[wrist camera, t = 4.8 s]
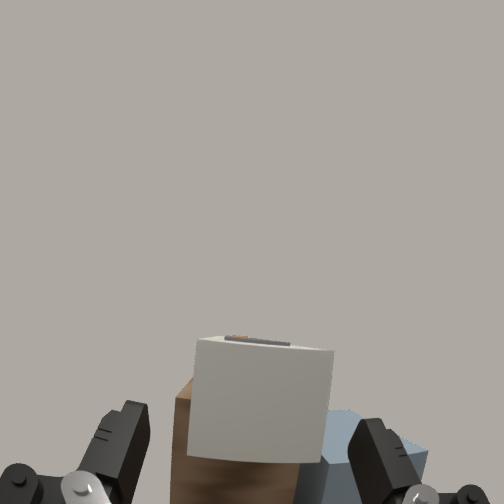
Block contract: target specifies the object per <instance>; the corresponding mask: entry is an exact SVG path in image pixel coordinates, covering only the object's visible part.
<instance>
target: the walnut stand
mask: <svg viewBox="0 0 504 504" xmlns="http://www.w3.org/2000/svg"><path fill="white" fill-rule="evenodd" d="M192 384H193V378H192V379H191V380H190V381H189V382H188V384H187V385H186V386H185V387H184V388H183V389H182V391H181V392H180V393H179V394H178V395H177V397H176V400H175V413H174V426H173V442H172V461H171V483H170V485H171V486H170V504H293V501H294V496H295V490H296V485H297V479H298V473H299V467H300V463H263V462H244V461H231V460H221V459H211V458H203V457H195V456H189V455H187V445H188V431H189V418H190V406H191V395H192Z"/></svg>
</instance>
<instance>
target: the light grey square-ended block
mask: <svg viewBox="0 0 504 504" xmlns="http://www.w3.org/2000/svg"><path fill="white" fill-rule="evenodd" d="M333 360H334V351H332V350H324V349H315V348H308V347H301V346H294V345H290V343H287V342H278V341H270V340H262V339H255V338H248V337H245V336H235V335H233V336H225V337H224V336H216V337H208V338H201V339H197V345H196V355H195V364H194V374H193V384H192V395H191V406H190V418H189V431H188V445H187V455H189V456H195V457H203V458H211V459H221V460H231V461H244V462H263V463H318V462H320V459H321V453H322V447H323V440H324V434H325V427H326V420H327V413H328V405H329V397H330V388H331V379H332V370H333Z"/></svg>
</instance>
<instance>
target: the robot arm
mask: <svg viewBox="0 0 504 504" xmlns="http://www.w3.org/2000/svg"><path fill="white" fill-rule="evenodd" d="M149 441H150V424H149V415H148V406H147V404H144V403H139V402H135V401H130V400H127V401H126V402H125V404H124V406H123V408H122V410H121V412H119V411H114V410H111V411H110V412H109V413H108V414H106V415H105V416H104V417H103V418H102V420H101V422H100V424H99V426H98V429H97V430H96V432H95V434H94V438H92V440H91V442H90V444H89V446H88V448H87V451H86V453H85V455H84V457H83V459H82V461H81V463H80V466H79V467H78V469H77V470H76V471H74V472H70V473H69V474H67V475H66V476H64V477H52V476H43V475H37V474H36V473H35V471H34V470H33V469H32V468H31V467H29V466H27V465H25V464H21V463H16V464H12V465H10V466H8V467H7V468H6V469H5V470H4V472H3V474H2V475H1V478H0V504H131V503H132V499H133V496H134V492H135V489H136V485H137V482H138V478H139V475H140V472H141V468H142V465H143V461H144V458H145V455H146V451H147V448H148V445H149ZM347 454H348V459H349V462H350V465H351V469H352V472H353V475H354V478H355V482H356V485H357V488H358V492H359V495H360V498H361V502H362V504H490V503H489V501H488V499H487V497H486V495H485V493H484V492H483V490H482V489H481V488H480V487H478V486H476V485H465V486H463V487H462V488H461V489H460V490H459V491H458V492H457V493H437V492H436V490H435V489H433V488H432V487H430V486H428V485H425V484H422V483H421V481H420V479H419V476H418V474H417V472H416V470H415V468H414V466H413V464H412V462H411V460H410V458H409V456H408V454H407V452H406V449H405V448H404V445H403V443H402V441H401V439H400V437H399V436H398V435H397V434H396V433H395V432H393V431H392V430H391V429H386V428H385V426H384V424H383V422H382V420H381V419H380V418H371V419H361V420H360V421H359V423H358V425H357V427H356V429H355V431H354V434H353V436H352V438H351V440H350V442H349V444H348V449H347Z"/></svg>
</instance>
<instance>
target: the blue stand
mask: <svg viewBox="0 0 504 504" xmlns="http://www.w3.org/2000/svg"><path fill="white" fill-rule="evenodd" d="M361 419H365V418H363V417H362V416H360V415H358V414H356V413H354V412H352V411H350V410H328V413H327V420H326V427H325V434H324V440H323V447H322V453H321V459H320V462H318V463H300V467H299V473H298V479H297V485H296V490H295V496H294V501H293V504H362V502H361V498H360V495H359V492H358V488H357V485H356V482H355V478H354V475H353V472H352V469H351V465H350V462H349V459H348V454H347V449H348V444H349V442H350V440H351V438H352V436H353V434H354V431H355V429H356V427H357V425H358V423H359V421H360V420H361ZM399 437H400V436H399ZM400 439H401V441H402V443H403V445H404V448H405V449H406V452H407V454H408V456H409V458H410V460H411V462H412V464H413V466H414V468H415V470H416V472H417V474H418V476H419V479H420V481H421V479H422V475H423V471H424V467H425V463H426V458H427V454H428V450H426V449H424V448H422V447H420V446H418V445H416V444H414V443H412V442H410V441H408V440H406V439H404V438H402V437H400Z"/></svg>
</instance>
